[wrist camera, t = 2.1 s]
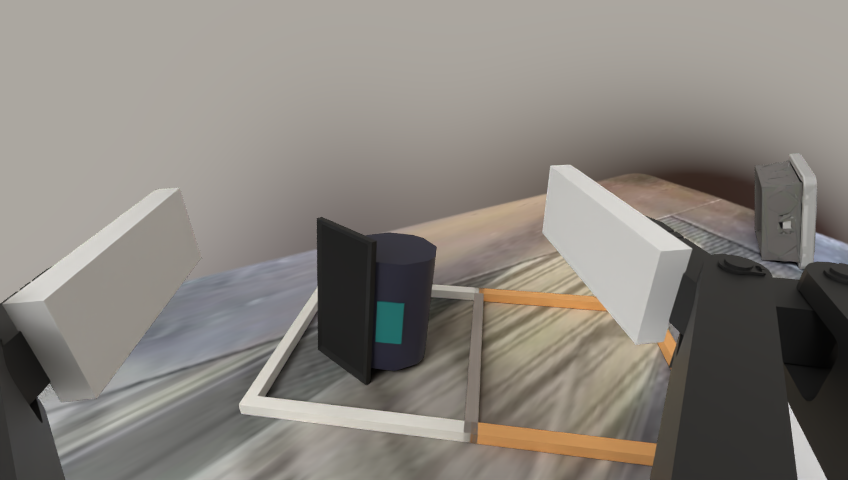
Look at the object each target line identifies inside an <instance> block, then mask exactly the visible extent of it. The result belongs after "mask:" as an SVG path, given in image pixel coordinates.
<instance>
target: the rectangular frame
mask: <svg viewBox="0 0 848 480" xmlns="http://www.w3.org/2000/svg"><path fill="white" fill-rule="evenodd" d="M431 297H436V298H449V299H462V300H474V304H473V317H472V329H471V342H470V355H469V368H468V381H467V394H466V407H465V420H464V421H462V420H454V419H446V418H437V417H429V416H421V415H412V414H404V413H395V412H387V411H379V410H370V409H362V408H354V407H345V406H337V405H329V404H320V403H312V402H303V401H295V400H287V399H278V398H270V397H265V395H266V394H267V392H268V391H269V389H270V387H271V386H272V384H273V382H274V381H275V379H276V378H277V376H278V374H279V373H280V371H281V369H282V368H283V366H284V364H285V363H286V361H287V360H288V358H289V356H290V355H291V353H292V351H293V350H294V348H295V347H296V345H297V343H298V342H299V340H300V338H301V337H302V335H303V333H304V332H305V330H306V329H307V327H308V325H309V324H310V322H311V320H312V319H313V317H314V315H315V314H316V312H317V311H318V287H317V288H316V290H315V291H314V293H313V294H312V296H311V297H310V299H309V300H308V302H307V303H306V305H305V306H304V308H303V309H302V311H301V312H300V314H299V315H298V317H297V318H296V320H295V321H294V323H293V324H292V326H291V327H290V329H289V330H288V332H287V333H286V335H285V336H284V338H283V339H282V341H281V342H280V344H279V345H278V347H277V348H276V350H275V351H274V353H273V354H272V356H271V357H270V358H269V360H268V361H267V363H266V364H265V366H264V367H263V369H262V370H261V372H260V373H259V375H258V376H257V378H256V379H255V381H254V382H253V384H252V385H251V387H250V388H249V390H248V391H247V393H246V394H245V396H244V397H243V399H242V400H241V402H240V403H239V408H240V411H241V414H247V415H255V416H263V417H271V418H278V419H286V420H294V421H302V422H310V423H318V424H326V425H334V426H342V427H350V428H357V429H365V430H373V431H381V432H389V433H397V434H405V435H413V436H421V437H428V438H436V439H444V440H452V441H460V442H468V443H476V444H484V445H492V446H499V447H507V448H515V449H523V450H531V451H539V452H547V453H555V454H563V455H571V456H578V457H586V458H594V459H602V460H610V461H618V462H626V463H634V464H642V465H649V466H653V461H654V456H655V451H656V445H657V444H655V443H646V442H638V441H630V440H621V439H613V438H605V437H596V436H588V435H579V434H571V433H563V432H554V431H546V430H538V429H529V428H521V427H513V426H504V425H496V424H487V423H479V422H478V416H479V393H480V369H481V346H482V322H483V301H487V302H500V303H512V304H525V305H538V306H550V307H563V308H576V309H588V310H601V311H607V310H606V308H605V307H604V306H603V305H602V304H601V302H600V301H599V300H598V299H597V298H596V297H594V296H580V295H567V294H554V293H540V292H527V291H513V290H500V289H487V288H473V287H460V286H446V285H433V284H432V293H431ZM658 345H659V347H660V349H661V351H662V353H663V355H664V357H665V359H666V361H667V363H668V365H670V362H671V359H672V356H673V353H674V350H675V347H676V342H675V341H674V339H673V337H672V335H671V334H670V332H669V330H667V333H666V336H665V339H664V342H658ZM670 369H672V368H670Z"/></svg>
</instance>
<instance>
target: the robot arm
mask: <svg viewBox="0 0 848 480" xmlns="http://www.w3.org/2000/svg"><path fill="white" fill-rule="evenodd" d="M542 233H543V234H544V235H545V236H546V238H547V239H548V240H549V241H550V242H551V244H552V245H553V246H554V247H555V248H556V250H557V251H558V252H559V253H560V254H561V256H562V257H563V258H564V259H565V260H566V262H567V263H568V264H569V265H570V266H571V268H572V269H573V270H574V271H575V272H576V274H577V275H578V276H579V277H580V278H581V280H582V281H583V282H584V283H585V284H586V286H587V287H588V288H589V289H590V290H591V292H592V293H593V294H594V295H595V296H596V298H597V299H598V300H599V301H600V302H601V304H602V305H603V306H604V307H605V308H606V310H607V311H608V312H609V313H610V314H611V316H612V317H613V318H614V319H615V320H616V322H617V323H618V324H619V325H620V326H621V328H622V329H623V330H624V331H625V332H626V334H627V335H628V336H629V337H630V338H631V340H632V341H633V342H634V343H635V344H636V345H638V344H648V343H658V342H664V339H665V336H666V333H667V330H668V326H669V323H671V324H672V325H673V326H674V327H675V328H676V329H677V330H678V331H679V332H680V334H679V337H678V341H677V344H676V347H675V350H674V353H673V356H672V359H671V362H670V365H669V367H670V368H672V369H671V374H670V379H669V384H668V389H667V394H666V399H665V404H664V410H663V415H662V420H661V425H660V430H659V435H658V440H657V445H656V451H655V456H654V461H653V466H652V471H651V476H650V480H797V472H796V464H795V455H794V447H793V439H792V431H791V423H790V415H789V407H788V403H789V405H790V407H791V409H792V411H793V413H794V415H795V417H796V419H797V421H798V423H799V424H800V426H801V428H802V430H803V432H804V434H805V436H806V438H807V440H808V442H809V444H810V446H811V448H812V450H813V452H814V454H815V456H816V458H817V460H818V462H819V464H820V466H821V468H822V470H823V472H824V474H825V476H826V478H827V480H848V265H847V264H843V263H839V264H836V263H831V262H813V263H809V264H808V265H807V266H806V267H805V269H804V271H803V273H802V275H801V278H800V280H795V279H784V278H773V277H772V275H771V273H770V271H769V270H768V269H767V268H765V267H764V266H762V265H761V264H759V263H756V262H754V261H752V260H750V259H746V258H743V257H739V256H734V255H727V254H714V255H710V254H709V253H707V252H706V251H704V250H703V249H701V248H700V247H698V246H697V245H695V244H694V243H692V242H691V241H689V240H688V239H686V238H683V236H682V235H680V234H679V233H677V232H674V230H673V229H671V228H670V227H668V226H667V225H665V224H664V223H662V222H660V221H657V220H655V219H652V218H650V217H647V216H644V215H643V214H641V213H640V212H638V211H637V210H635V209H634V208H632V207H631V206H630V205H628V204H627V203H625V202H624V201H622V200H621V199H619V198H618V197H617V196H615V195H614V194H612V193H611V192H609V191H608V190H606V189H605V188H603V187H602V186H601V185H599V184H598V183H596V182H595V181H593V180H592V179H590V178H589V177H587V176H586V175H585V174H583V173H582V172H580V171H579V170H577V169H576V168H574V167H573V166H572V165H556V166H550V173H549V181H548V190H547V198H546V206H545V215H544V223H543V232H542ZM201 258H202V257H201V254H200V251H199V248H198V245H197V242H196V238H195V235H194V232H193V229H192V225H191V223H190V219H189V216H188V213H187V210H186V206H185V203H184V200H183V197H182V194H181V190H180V188H169V189H156V190H155V191H153V192H152V193H151V194H149V195H148V196H147V197H145V198H144V199H142V200H141V201H140V202H138V203H137V204H136V205H134V206H133V207H132V208H130V209H129V210H128V211H126V212H125V213H124V214H122V215H121V216H120V217H118V218H117V219H116V220H114V221H113V222H112V223H110V224H109V225H108V226H106V227H105V228H104V229H102V230H101V231H100V232H98V233H97V234H96V235H94V236H93V237H92V238H90V239H89V240H87V241H86V242H85V243H83V244H82V245H81V246H79V247H78V248H77V249H75V250H74V251H73V252H71V253H70V254H69V255H67V256H66V257H65V258H63V259H62V260H61V261H59V262H58V263H56V264H55V265H54V266H52V267H50V268H48V269H46V270H45V271H44V272H42V273H41V274H40V275H38V276H37V277H36V278H34V279H33V280H32V282H29V283H28V284H26V285H25V286H24V287H22V288H21V289H20V291H19V292H15V293H14V294H13V295H11V296H10V297H9V298H7V299H6V300H5V301H3V302H2V303H0V480H65V477H64V474H63V470H62V467H61V463H60V460H59V457H58V453H57V450H56V446H55V443H54V439H53V436H52V432H51V429H50V425H49V422H48V418H47V415H46V411H45V408H44V407H43V405H42V404H41V402H40V400H39V399H38V397H37V396H38V395H39V394H40V393H41V392H42V391H43V390H44V389H45V388H46V386H47V385H48V384H49V383H50V384H51V386H52V388H53V389H54V391H55V393H56V394H57V396H58V398H59V399H60V401H61V402H69V401H79V400H89V399H97V398H98V396H99V395H100V394H101V392H102V391H103V389H104V388H105V387H106V385H107V384H108V383H109V381H110V380H111V379H112V377H113V376H114V375H115V373H116V372H117V371H118V369H119V368H120V367H121V365H122V364H123V363H124V361H125V360H126V359H127V357H128V356H129V355H130V353H131V352H132V351H133V349H134V348H135V347H136V345H137V344H138V343H139V341H140V340H141V338H142V337H143V336H144V334H145V333H146V332H147V330H148V329H149V328H150V326H151V325H152V324H153V322H154V321H155V320H156V318H157V317H158V316H159V314H160V313H161V312H162V310H163V309H164V308H165V306H166V305H167V304H168V302H169V301H170V300H171V298H172V297H173V296H174V294H175V293H176V291H177V290H178V289H179V287H180V286H181V285H182V283H183V282H184V281H185V279H186V278H187V277H188V275H189V274H190V273H191V271H192V270H193V269H194V267H195V266H196V264H197V263H198V262H199V260H200V259H201Z"/></svg>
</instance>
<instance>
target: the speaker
mask: <svg viewBox="0 0 848 480" xmlns="http://www.w3.org/2000/svg"><path fill="white" fill-rule="evenodd" d="M436 248H437V247H436V246H435V245H433V244H432V243H430V242H428V241H427V240H425V239H424V238H421V237H418V236H414V235H407V234H398V233H381V234H373V235H366V236H365V235H362V234H360V233H357V232H355V231H353V230H351V229H348V228H346V227H344V226H341V225H339V224H336V223H334V222H332V221H330V220H327V219H325V218H323V217H320V218H317V281H318V350H320V351H321V352H322V353H324V354H325V355H326V356H328V357H329V358H330V359H332V360H333V361H334V362H336V363H337V364H338V365H340V366H341V367H342V368H344V369H345V370H347V371H348V372H349V373H351V374H352V375H353V376H355V377H356V378H357V379H359V380H360V381H361V382H363V383H364V384H365V385H367V384H368V383H370V379H371V368H376V369H384V370H392V371H396V370H399V369H402V368H405V367H408V366H412V365H415V364H417V363H419V362H420V361H421V360H422V359H423V358H424V353H425V346H426V338H427V329H428V320H429V311H430V302H431V293H432V284H433V275H434V266H435V257H436Z"/></svg>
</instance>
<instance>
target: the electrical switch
mask: <svg viewBox="0 0 848 480" xmlns="http://www.w3.org/2000/svg"><path fill="white" fill-rule="evenodd" d="M816 206H817V181H816V176H815V174H814V173H813V172H812V170H811V169H810V167H809V166H808V164H807V163H806V161H805V160H804V158H803V157H802V156H801V154H789V160H788V161H786V162H783V163H773V164H768V165H755V230H762V231H755V232H756V237H757V241H758V245H759V249H760V254H761V258H762V260H778V261H794V262H797V264H798V267H799V270H801V269H805V267H806V266H807V265H808V264H809V263H813V260H814V252H815V231H816V209H817V207H816Z"/></svg>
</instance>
